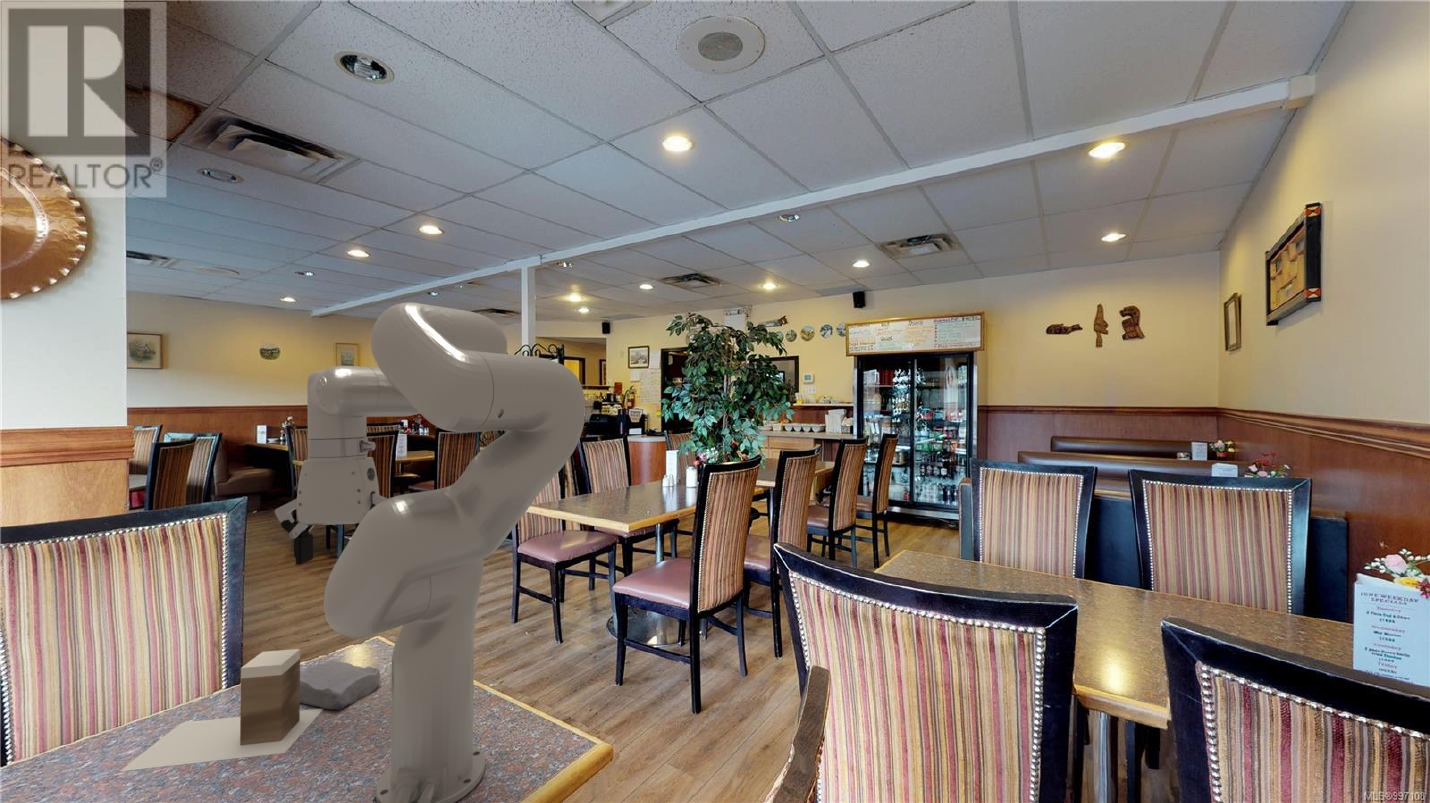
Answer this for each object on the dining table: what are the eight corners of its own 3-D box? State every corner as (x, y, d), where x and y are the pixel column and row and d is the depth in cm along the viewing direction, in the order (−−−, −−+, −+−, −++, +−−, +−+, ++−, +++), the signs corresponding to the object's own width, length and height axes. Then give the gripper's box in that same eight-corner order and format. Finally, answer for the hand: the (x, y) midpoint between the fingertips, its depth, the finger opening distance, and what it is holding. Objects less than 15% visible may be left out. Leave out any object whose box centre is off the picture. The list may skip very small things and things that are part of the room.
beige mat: (284, 755, 75) (284, 752, 75) (119, 774, 71) (119, 771, 71) (324, 710, 86) (324, 708, 86) (182, 724, 81) (182, 722, 81)
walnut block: (280, 740, 77) (281, 664, 77) (240, 745, 76) (240, 667, 76) (299, 720, 82) (300, 648, 82) (261, 724, 81) (262, 651, 81)
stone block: (335, 685, 96) (277, 700, 87) (342, 656, 97) (286, 668, 88) (387, 698, 93) (332, 716, 83) (393, 668, 94) (340, 682, 84)
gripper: (407, 447, 88) (408, 551, 88) (292, 449, 86) (293, 557, 86) (385, 450, 81) (386, 564, 81) (259, 453, 79) (259, 570, 78)
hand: (338, 560), depth 83 cm, fingers open, 9 cm apart
